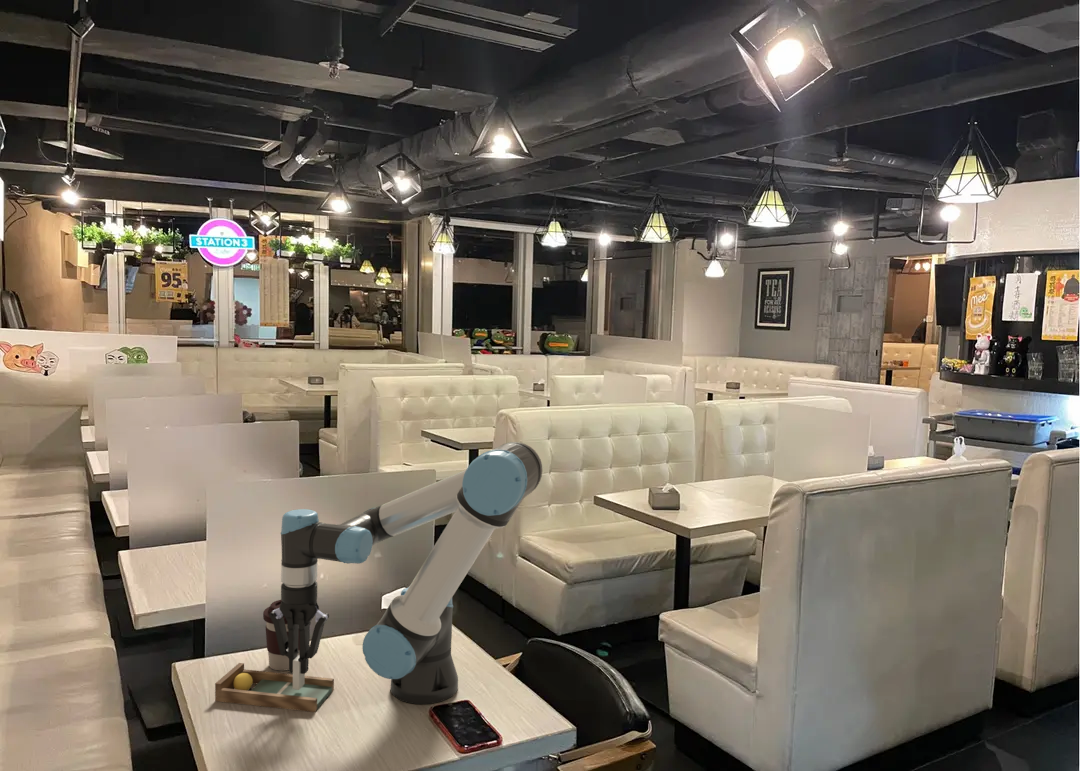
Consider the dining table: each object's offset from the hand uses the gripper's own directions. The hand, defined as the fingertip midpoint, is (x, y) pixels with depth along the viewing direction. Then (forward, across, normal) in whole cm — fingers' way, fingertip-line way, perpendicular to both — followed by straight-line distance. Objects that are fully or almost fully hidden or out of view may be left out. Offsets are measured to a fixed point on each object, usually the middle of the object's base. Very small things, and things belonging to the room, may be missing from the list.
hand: (298, 686), depth 172 cm
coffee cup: (+3, +10, -14) cm, 18 cm away
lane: (+3, +5, 0) cm, 6 cm away
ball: (+1, +13, 0) cm, 13 cm away
